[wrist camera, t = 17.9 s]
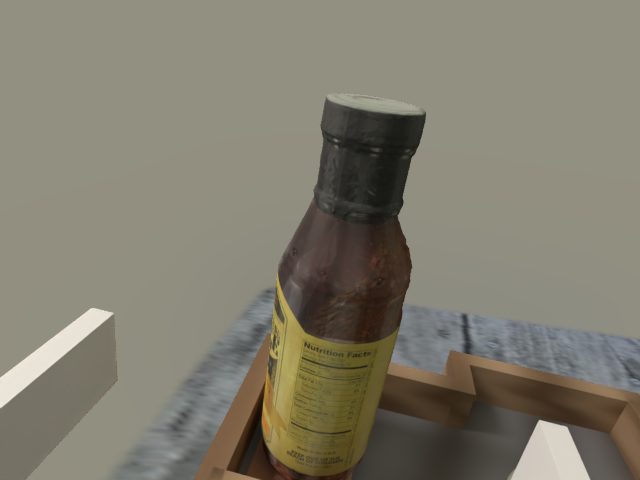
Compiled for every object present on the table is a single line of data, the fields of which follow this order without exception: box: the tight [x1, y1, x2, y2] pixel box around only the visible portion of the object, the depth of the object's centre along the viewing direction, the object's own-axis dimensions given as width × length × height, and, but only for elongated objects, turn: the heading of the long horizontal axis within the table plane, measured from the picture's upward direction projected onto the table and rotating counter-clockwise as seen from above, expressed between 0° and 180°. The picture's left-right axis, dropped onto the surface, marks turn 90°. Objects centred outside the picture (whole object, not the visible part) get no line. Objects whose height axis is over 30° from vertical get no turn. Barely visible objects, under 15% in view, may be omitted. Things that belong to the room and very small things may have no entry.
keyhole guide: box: [194, 334, 640, 480], centre depth 24 cm, size 26×18×4 cm
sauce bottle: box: [261, 93, 426, 480], centre depth 21 cm, size 6×6×20 cm
